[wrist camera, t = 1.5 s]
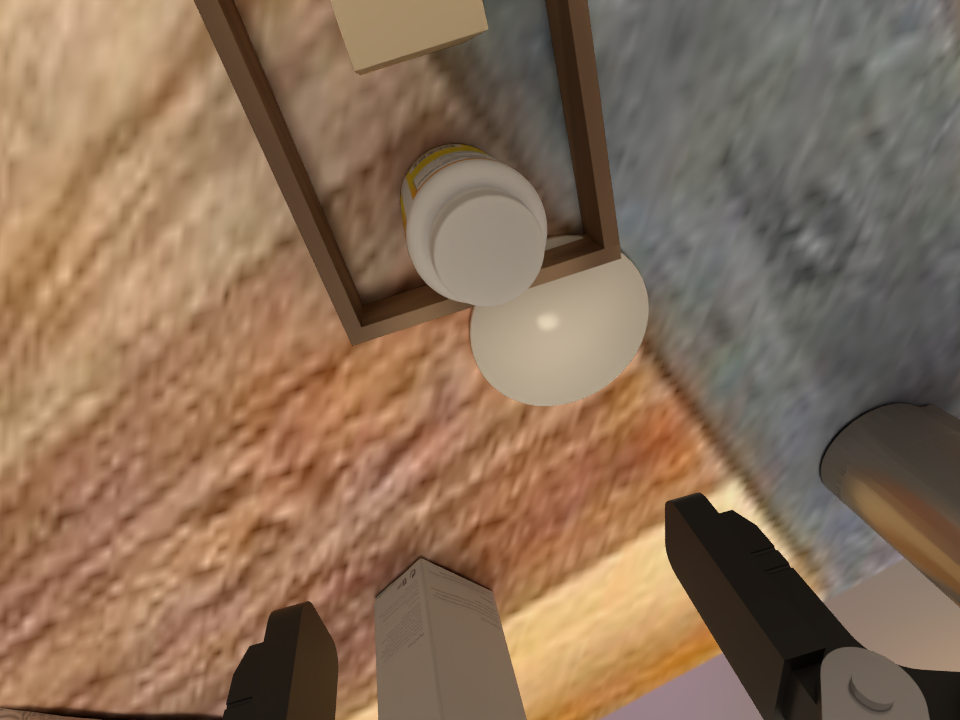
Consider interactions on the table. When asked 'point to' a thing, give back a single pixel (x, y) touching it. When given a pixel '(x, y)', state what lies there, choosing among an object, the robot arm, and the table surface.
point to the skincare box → (442, 650)
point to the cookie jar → (32, 715)
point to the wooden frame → (280, 151)
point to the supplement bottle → (472, 225)
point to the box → (404, 28)
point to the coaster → (562, 333)
